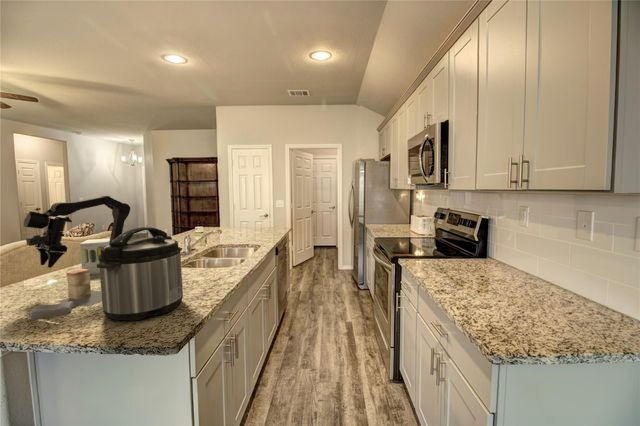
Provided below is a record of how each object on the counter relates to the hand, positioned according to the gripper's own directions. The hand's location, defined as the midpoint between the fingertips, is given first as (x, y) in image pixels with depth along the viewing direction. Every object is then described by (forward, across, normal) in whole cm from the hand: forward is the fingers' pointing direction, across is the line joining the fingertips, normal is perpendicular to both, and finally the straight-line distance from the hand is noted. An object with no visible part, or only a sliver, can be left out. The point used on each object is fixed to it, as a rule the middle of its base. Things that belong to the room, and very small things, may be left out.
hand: (45, 266), depth 132 cm
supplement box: (+4, -28, +33) cm, 43 cm away
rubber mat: (+11, +19, +12) cm, 25 cm away
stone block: (+15, +24, -1) cm, 29 cm away
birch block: (+11, +14, +10) cm, 20 cm away
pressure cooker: (+10, +50, +19) cm, 54 cm away
